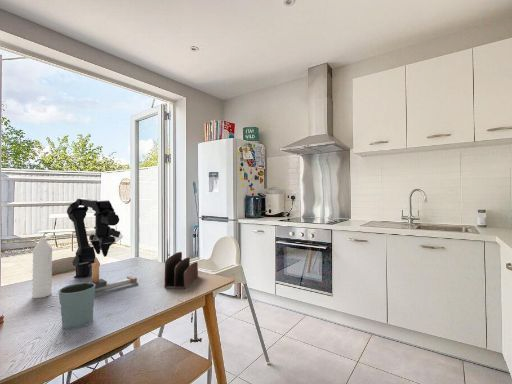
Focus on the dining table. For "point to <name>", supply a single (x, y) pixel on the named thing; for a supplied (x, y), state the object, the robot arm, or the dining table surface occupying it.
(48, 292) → the water bottle
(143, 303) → the dining table surface
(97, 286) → the carriage
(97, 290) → the rail
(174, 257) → the letter holder
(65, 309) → the green planter pot
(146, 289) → the dining table surface
